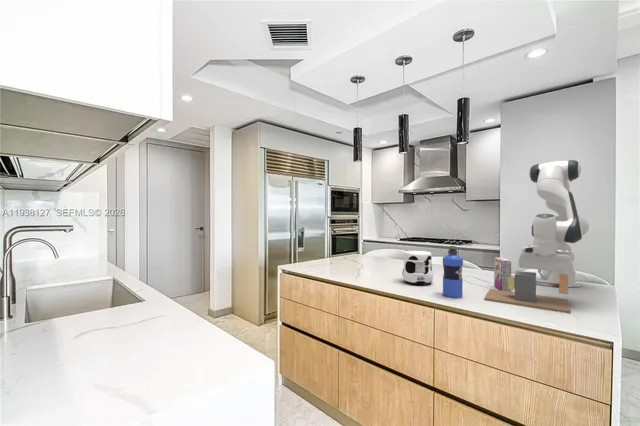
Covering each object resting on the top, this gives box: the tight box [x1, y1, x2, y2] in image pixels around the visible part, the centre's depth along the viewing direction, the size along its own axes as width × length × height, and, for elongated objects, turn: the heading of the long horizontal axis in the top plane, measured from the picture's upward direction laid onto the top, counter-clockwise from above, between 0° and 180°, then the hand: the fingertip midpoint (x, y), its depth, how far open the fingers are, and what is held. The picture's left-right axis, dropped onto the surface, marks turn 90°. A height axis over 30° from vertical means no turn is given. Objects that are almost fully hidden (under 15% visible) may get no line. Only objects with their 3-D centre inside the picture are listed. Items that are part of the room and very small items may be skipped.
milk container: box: [401, 250, 434, 285], centre depth 179 cm, size 17×17×18 cm
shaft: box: [503, 274, 569, 295], centre depth 142 cm, size 4×24×8 cm, turn 54°
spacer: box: [508, 274, 515, 291], centre depth 147 cm, size 6×2×6 cm, turn 144°
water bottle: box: [442, 245, 464, 299], centre depth 152 cm, size 9×9×25 cm
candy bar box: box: [493, 256, 512, 292], centre depth 164 cm, size 11×5×16 cm, turn 168°
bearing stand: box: [483, 270, 572, 314], centre depth 144 cm, size 20×32×13 cm, turn 54°
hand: (544, 279), depth 139 cm, fingers closed
